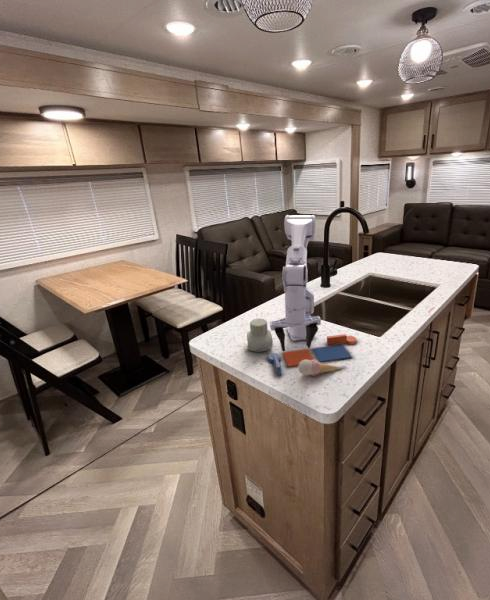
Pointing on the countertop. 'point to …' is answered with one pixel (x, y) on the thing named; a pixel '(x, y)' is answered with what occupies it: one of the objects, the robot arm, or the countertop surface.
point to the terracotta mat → (297, 357)
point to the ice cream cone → (314, 367)
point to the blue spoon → (275, 362)
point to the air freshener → (259, 336)
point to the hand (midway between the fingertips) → (295, 347)
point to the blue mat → (331, 353)
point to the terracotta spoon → (340, 339)
